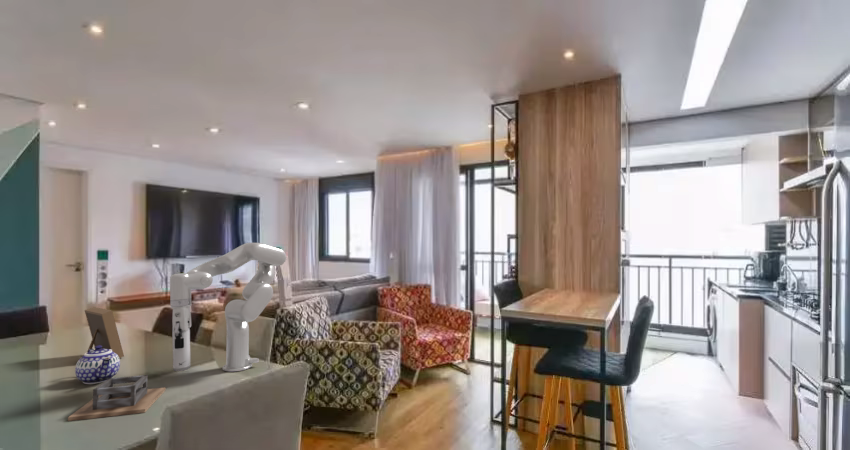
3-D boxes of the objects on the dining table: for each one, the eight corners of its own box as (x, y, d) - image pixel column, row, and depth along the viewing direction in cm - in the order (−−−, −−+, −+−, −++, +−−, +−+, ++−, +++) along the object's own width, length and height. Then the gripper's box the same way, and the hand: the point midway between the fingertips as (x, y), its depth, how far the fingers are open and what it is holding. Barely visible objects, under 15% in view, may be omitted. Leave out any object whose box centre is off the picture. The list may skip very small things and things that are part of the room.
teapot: (68, 379, 177) (69, 344, 177) (110, 370, 188) (111, 338, 189) (82, 391, 161) (83, 353, 162) (128, 381, 173) (128, 346, 173)
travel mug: (183, 371, 167) (182, 322, 167) (169, 371, 168) (168, 322, 168) (194, 366, 173) (193, 319, 173) (181, 365, 174) (180, 319, 174)
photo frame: (106, 352, 220) (107, 305, 221) (124, 358, 208) (125, 308, 209) (71, 359, 207) (72, 309, 208) (88, 365, 195) (89, 313, 196)
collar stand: (165, 390, 162) (165, 370, 162) (144, 412, 141) (145, 389, 141) (99, 396, 156) (100, 375, 156) (68, 421, 135) (68, 396, 135)
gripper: (185, 305, 164) (186, 350, 164) (196, 299, 180) (197, 339, 180) (164, 307, 162) (164, 352, 161) (177, 300, 178) (177, 341, 178)
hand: (181, 345), depth 171 cm, fingers closed on travel mug, 6 cm apart
